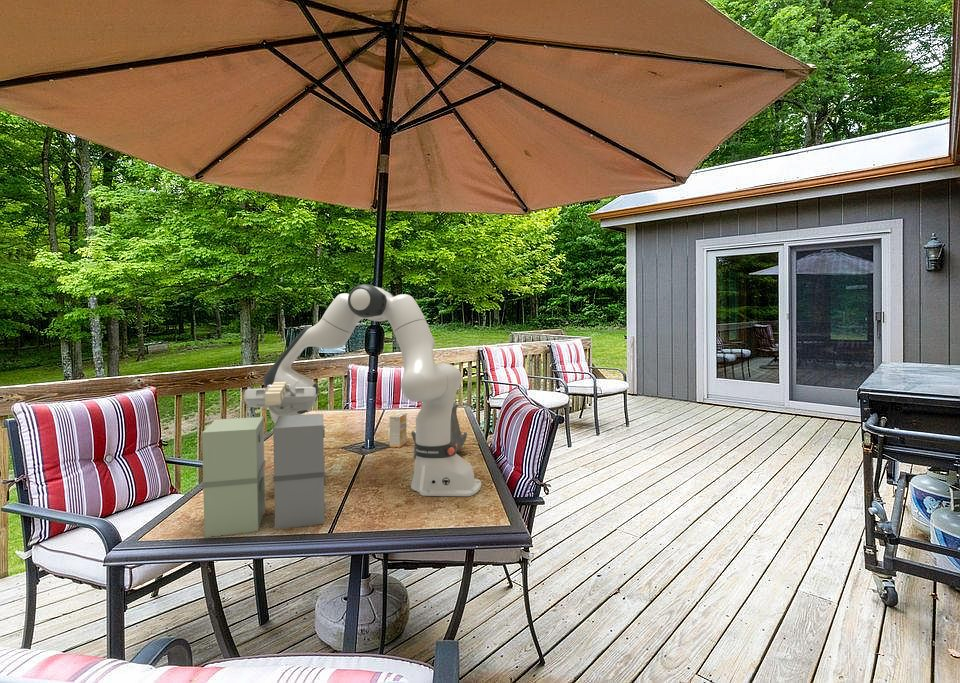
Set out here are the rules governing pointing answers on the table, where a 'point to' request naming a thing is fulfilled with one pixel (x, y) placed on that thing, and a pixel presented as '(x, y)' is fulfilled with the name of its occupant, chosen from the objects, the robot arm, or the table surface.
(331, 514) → the table surface
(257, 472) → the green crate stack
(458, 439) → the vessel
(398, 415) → the supplement box
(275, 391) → the wooden bar
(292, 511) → the grey crate stack
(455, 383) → the robot arm
